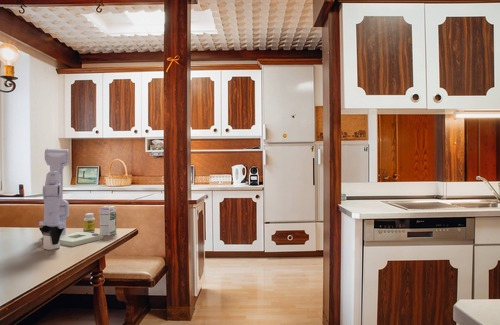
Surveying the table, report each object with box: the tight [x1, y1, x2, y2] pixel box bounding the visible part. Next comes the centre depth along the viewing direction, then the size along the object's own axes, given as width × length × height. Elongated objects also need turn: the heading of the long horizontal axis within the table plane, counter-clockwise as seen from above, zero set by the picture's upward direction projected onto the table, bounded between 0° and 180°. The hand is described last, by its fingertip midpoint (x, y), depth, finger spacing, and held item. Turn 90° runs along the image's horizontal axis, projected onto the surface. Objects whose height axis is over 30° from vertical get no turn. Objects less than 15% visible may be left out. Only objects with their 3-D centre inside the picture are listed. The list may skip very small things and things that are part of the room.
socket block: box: [60, 231, 104, 247], centre depth 150 cm, size 16×16×3 cm
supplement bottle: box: [82, 212, 96, 233], centre depth 168 cm, size 5×5×10 cm
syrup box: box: [99, 205, 117, 236], centre depth 164 cm, size 6×6×14 cm
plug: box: [42, 231, 61, 251], centre depth 136 cm, size 4×4×7 cm
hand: (51, 243), depth 136 cm, fingers closed on plug, 4 cm apart
